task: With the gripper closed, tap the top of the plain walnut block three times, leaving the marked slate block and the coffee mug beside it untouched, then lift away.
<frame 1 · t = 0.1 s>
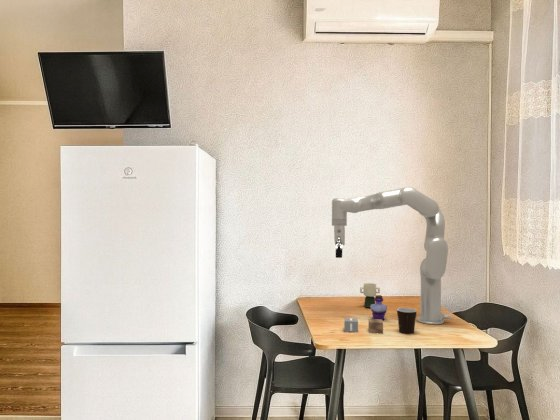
hand: (339, 256, 226), 31 cm above the table, tool pointing down, fingers open, 9 cm apart
marked slate block: (351, 330, 204), on the table
character mug: (369, 307, 250), on the table
walnut block: (375, 331, 202), on the table
coffee mug: (405, 333, 200), on the table
potion bottle: (378, 319, 224), on the table
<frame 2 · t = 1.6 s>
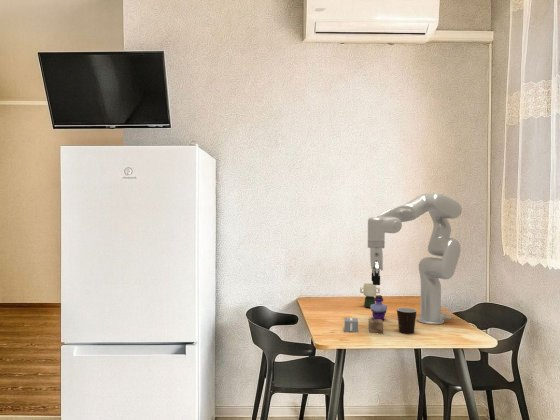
hand: (375, 283, 202), 22 cm above the table, tool pointing down, fingers open, 8 cm apart
nothing on the table moved.
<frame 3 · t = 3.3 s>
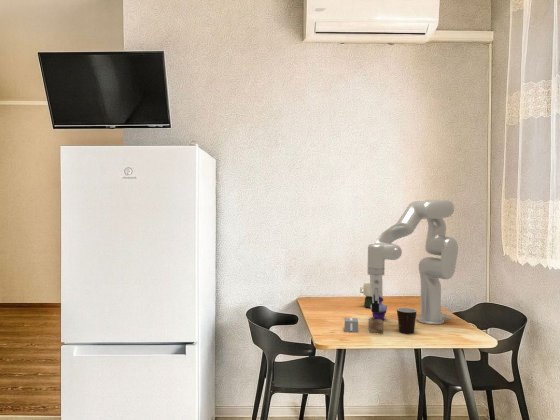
hand: (375, 311, 202), 9 cm above the table, tool pointing down, fingers closed
nothing on the table moved.
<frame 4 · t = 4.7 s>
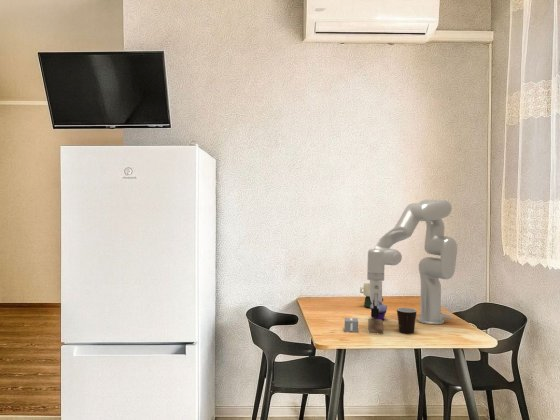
hand: (374, 316, 202), 7 cm above the table, tool pointing down, fingers closed
nothing on the table moved.
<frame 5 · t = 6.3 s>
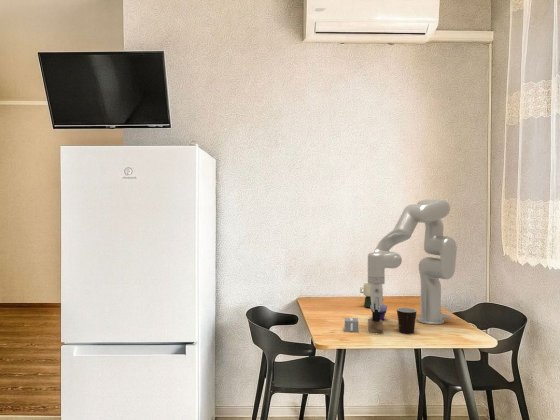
hand: (376, 320, 202), 5 cm above the table, tool pointing down, fingers closed
nothing on the table moved.
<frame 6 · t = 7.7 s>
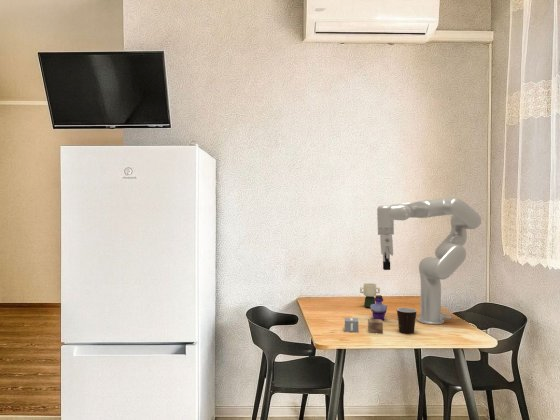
hand: (386, 269, 213), 26 cm above the table, tool pointing down, fingers closed
nothing on the table moved.
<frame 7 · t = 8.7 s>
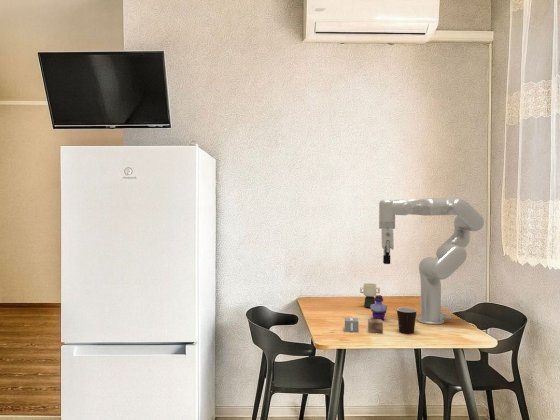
hand: (386, 263, 215), 29 cm above the table, tool pointing down, fingers closed
nothing on the table moved.
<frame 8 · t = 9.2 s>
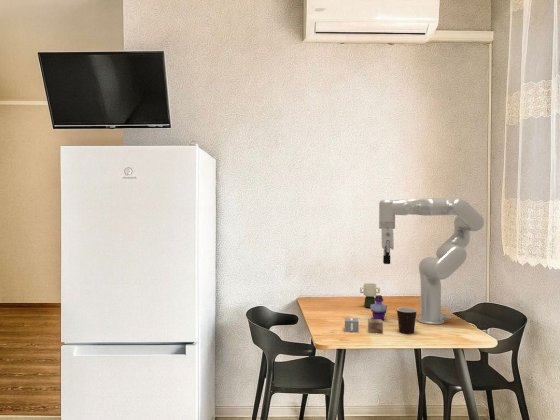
hand: (386, 263, 215), 29 cm above the table, tool pointing down, fingers closed
nothing on the table moved.
at the end: walnut block moved 0.2 cm from its start; walnut block tilted 0°; marked slate block moved 0.4 cm from its start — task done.
